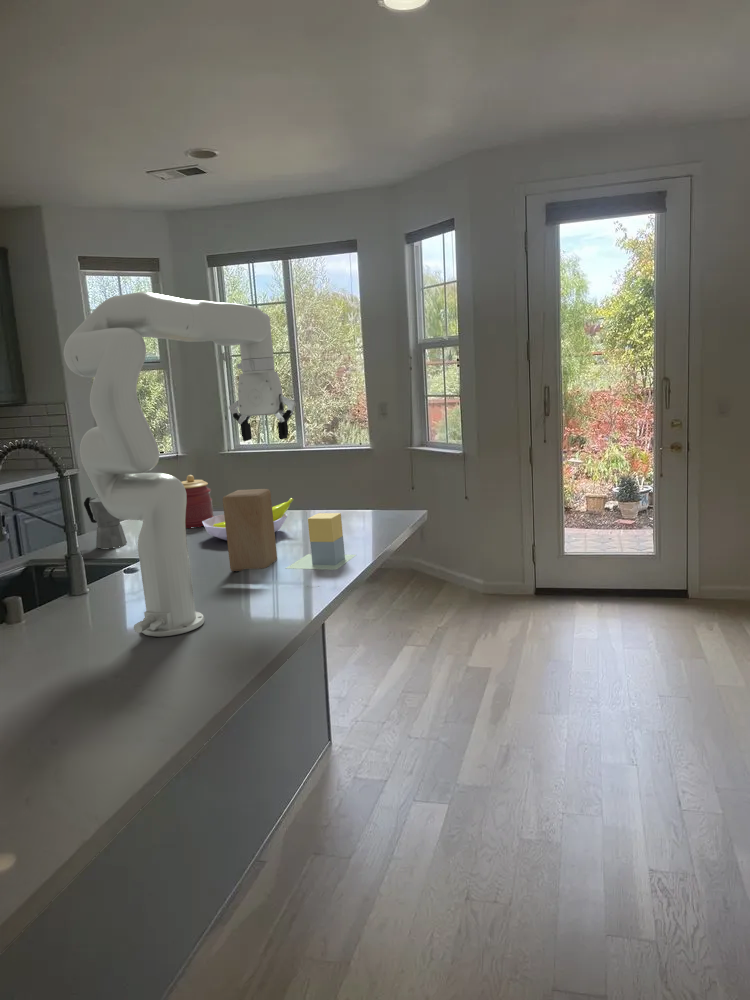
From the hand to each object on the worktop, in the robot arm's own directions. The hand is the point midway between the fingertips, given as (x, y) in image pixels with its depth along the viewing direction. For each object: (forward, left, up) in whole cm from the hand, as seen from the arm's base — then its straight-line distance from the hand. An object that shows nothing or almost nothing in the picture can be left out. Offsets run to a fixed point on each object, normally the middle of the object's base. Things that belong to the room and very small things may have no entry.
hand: (265, 439), depth 176 cm
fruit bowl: (+42, +31, -34) cm, 63 cm away
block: (+8, +11, -34) cm, 37 cm away
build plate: (+11, -7, -34) cm, 36 cm away
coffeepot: (+28, +74, -34) cm, 86 cm away
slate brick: (+11, -9, -33) cm, 36 cm away
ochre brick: (+11, -9, -27) cm, 30 cm away
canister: (+58, +61, -34) cm, 91 cm away
